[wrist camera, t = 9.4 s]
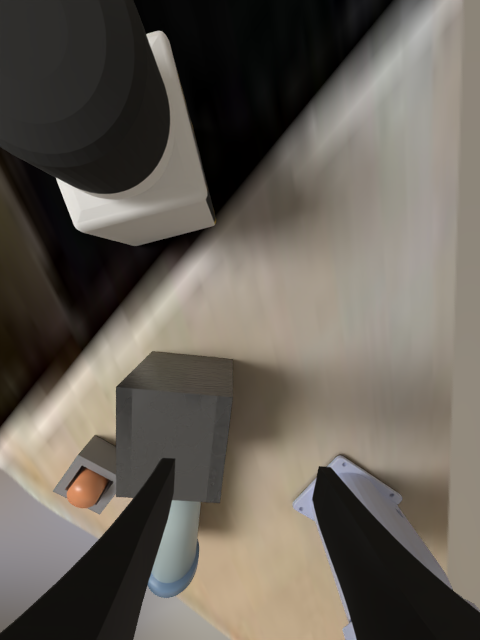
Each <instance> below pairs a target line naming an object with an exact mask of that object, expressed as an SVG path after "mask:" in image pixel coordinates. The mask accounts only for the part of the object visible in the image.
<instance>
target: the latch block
mask: <svg viewBox="0 0 480 640" xmlns="http://www.w3.org/2000/svg"><path fill="white" fill-rule="evenodd" d="M83 466H84V467H86V468H88V469H90V470H92V471H94V472H96V473H98V474H99V475H101V476H103V477H105V478H107V479H109V480H111V481H108V483H107V485H106V487H105V488H104V490H103V492H102V493H101V495H100V497H99V498H98V500H97V502H96V503H95V504H94V505H93V506H91V507H89V508H88V509H90V510H92V511H94V512H96V513H98V514H101V512H102V511H103V510H104V508H105V507H106V506H107V504H108V503H109V502H110V500H111V499H112V498H113V497H114V495H115V494H116V447H115V446H113V445H112V444H110V443H108V442H106V441H104V440H103V439H101V438H99V437H97V436H95V435H94V437H93V438H92V439H91V440H90V441H89V443H88V444H87V445H86V446H85V447H84V448H83V450H82V451H81V452H80V453H79V454H78V456H77V457H76V459H75V460H74V461H73V463H72V464H71V466H70V467H69V469H68V470H67V471H66V473H65V474H64V476H63V477H62V479H61V480H60V481H59V483H58V484H57V486H56V487H55V489H54V490H53V492H55V493H57V494H59V495H61V496H63V497H65V498H67V491H68V490H69V488H70V487H71V486H72V484H73V483H74V482H75V480H76V479H77V478H78V476H79V475H80V474H81V472H82V471H83V470H84V467H83Z"/></svg>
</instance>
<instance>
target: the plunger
mask: <svg viewBox="0 0 480 640" xmlns="http://www.w3.org/2000/svg"><path fill="white" fill-rule="evenodd" d="M108 481H109V479H107V478H105V477H103V476H101V475H99V474H98V473H96V472H94V471H92V470H90V469H88V468H86V467H85V468H84V470H83V471H82V472H81V474H80V475H79V476H78V478H77V479H76V480H75V482H74V483H73V484H72V486H71V487H70V488H69V490H68V491H67V499H68V501H69V502H70V503H71V504H72V505H74V506H76V507H79V508H89V507H91V506H93V505H94V504H95V503H96V502H97V500H98V498H99V497H100V495H101V493H102V492H103V490H104V488H105V487H106V485H107V483H108Z"/></svg>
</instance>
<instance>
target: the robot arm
mask: <svg viewBox="0 0 480 640" xmlns="http://www.w3.org/2000/svg"><path fill="white" fill-rule="evenodd" d="M344 462H345V463H344ZM174 479H175V459H174V458H162V459H161V460H160V461H159V463H158V464H157V466H156V468H155V469H154V471H153V472H152V474H151V475H150V477H149V478H148V479H147V481H146V482H145V484H144V485H143V486H142V488H141V489H140V490H139V492H138V493H137V494H136V496H135V497H134V498H133V500H132V501H131V502H130V503H129V505H128V506H127V507H126V508H125V510H124V511H123V512H122V513H121V514H120V516H119V517H118V518H117V519H116V520H115V522H114V523H113V524H112V525H111V526H110V528H109V529H108V530H107V531H106V532H105V533H104V534H103V535H102V537H101V538H100V539H99V540H98V541H97V542H96V543H95V544H94V545H93V546H92V547H91V548H90V550H89V551H88V552H87V553H86V554H85V555H84V556H83V557H82V558H81V559H80V560H79V561H78V562H77V563H76V564H75V565H74V566H73V567H72V568H71V569H70V570H69V571H68V572H67V573H66V574H65V575H64V576H63V577H62V578H61V579H60V580H59V581H58V582H57V583H56V584H55V585H53V586H52V587H51V588H50V589H49V590H48V591H47V592H46V593H45V594H44V595H43V596H41V597H40V598H39V599H38V600H37V601H36V602H35V603H34V604H33V605H32V606H31V607H30V608H29V609H28V610H26V611H25V612H24V613H23V614H22V615H21V616H20V617H19V618H17V619H16V620H15V621H14V622H13V623H12V624H11V625H9V626H8V627H7V628H6V629H5V630H3V631H2V632H1V633H0V640H133V638H134V634H135V630H136V626H137V622H138V618H139V613H140V610H141V606H142V602H143V599H144V595H145V591H146V588H147V585H148V581H149V578H150V575H151V572H152V569H153V565H154V562H155V559H156V556H157V553H158V550H159V546H160V543H161V540H162V537H163V533H164V530H165V527H166V524H167V520H168V517H169V512H170V508H171V503H172V499H173V494H174ZM401 501H402V496H401V495H400V494H399V493H398V492H396V491H395V490H393V489H392V488H390V487H389V486H387V485H386V484H384V483H383V482H381V481H380V480H378V479H377V478H375V477H374V476H372V475H371V474H369V473H368V472H366V471H365V470H363V469H362V468H360V467H359V466H357V465H356V464H354V463H353V462H351V461H349V460H348V459H346V458H345V457H343V456H341V455H339V456H337V457H336V458H335V459H334V460H333V461H332V462H331V463H330V464H329V465H328V466H327V467H320V466H319V469H318V473H317V478H316V479H315V480H314V481H313V482H312V483H311V484H310V485H309V486H308V487H307V488H306V489H305V490H304V491H303V492H302V493H301V494H300V495H299V496H298V497H297V498H296V499H295V501H294V502H293V508H294V509H295V510H297V511H298V512H300V513H302V514H303V515H305V516H307V517H309V518H310V519H312V520H314V521H315V522H316V525H317V528H318V531H319V534H320V538H321V541H322V544H323V547H324V550H325V553H326V556H327V559H328V562H329V565H330V568H331V571H332V574H333V577H334V580H335V583H336V586H337V589H338V592H339V595H340V598H341V601H342V604H343V607H344V610H345V613H346V616H347V619H348V622H349V624H348V625H347V626H345V627H344V628H343V633H344V636H345V640H480V610H479V609H478V608H477V606H476V605H475V604H474V603H472V602H470V601H468V600H466V599H463V598H462V597H461V596H460V595H458V594H456V593H455V592H454V591H453V589H452V586H451V584H450V582H449V580H448V578H447V576H446V574H445V572H444V571H443V569H442V568H441V566H440V565H439V563H438V562H437V560H436V559H435V558H434V556H433V555H432V553H431V552H430V551H429V549H428V548H427V546H426V545H425V544H424V542H423V541H422V539H421V538H420V536H419V535H418V534H417V532H416V531H415V529H414V528H413V527H412V525H411V524H410V522H409V521H408V519H407V518H406V517H405V515H404V514H403V512H402V511H401V510H400V508H399V507H398V504H399V503H400V502H401Z"/></svg>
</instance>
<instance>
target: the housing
mask: <svg viewBox="0 0 480 640" xmlns="http://www.w3.org/2000/svg"><path fill="white" fill-rule="evenodd" d="M232 399H233V359H224V358H214V357H204V356H194V355H184V354H173V353H163V352H153V351H152V352H151V353H150V354H149V355H148V356H147V357H146V358H145V359H144V360H143V361H142V362H141V363H140V364H139V365H138V366H137V367H136V368H135V369H134V370H133V371H132V372H131V373H130V374H129V375H128V376H127V377H126V378H125V379H124V380H123V381H122V382H121V383H120V384H119V385H118V386H117V387H116V497H128V498H134V497H135V496H136V494H137V493H138V492H139V490H140V489H141V488H142V486H143V485H144V484H145V482H146V481H147V479H148V478H149V477H150V475H151V474H152V472H153V471H154V469H155V468H156V466H157V464H158V463H159V461H160V460H161V459H162V458H174V459H175V479H174V494H173V499H172V500H178V501H194V502H211V503H220V497H221V489H222V481H223V473H224V464H225V456H226V448H227V440H228V432H229V424H230V415H231V407H232Z"/></svg>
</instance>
